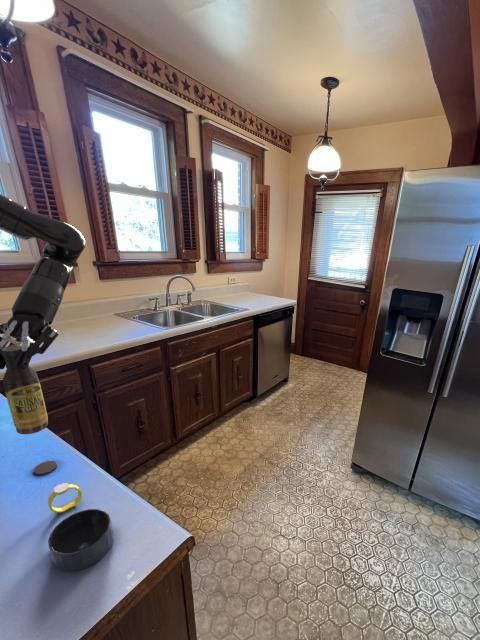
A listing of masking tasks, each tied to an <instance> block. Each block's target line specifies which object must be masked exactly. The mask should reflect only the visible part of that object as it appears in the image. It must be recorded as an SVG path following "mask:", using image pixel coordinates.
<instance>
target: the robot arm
mask: <svg viewBox="0 0 480 640" xmlns="http://www.w3.org/2000/svg"><path fill="white" fill-rule="evenodd" d="M0 230H1V231H3V232H5V233H7V234H9V235H11V236H13V237H15V238H17V239H20V240H22V241H25V242H29V241H31V240H33V239H36V240H39V241H42V242H45V245H44V248H43V250H42V252H41V255H40V257H39V259H38V260H37V261H36V263H35V264H34V267H33V269H32V270H31V272H30V274H29V276H28V278H27V279H26V280H25V282H24V283H23V285H22V287H21V289H20V291H19V293H18V295H17V296H16V298H15V301H14V303H13V305H12V307H11V313H12V317H10V318H9V319H8V320H7V322H3V323H0V370H4V369H5V368H6V364H5V360H4V357H3V356H2V353H1V349H2V348H4V347H7V345H8V346H15V345H20V346H22V349H21V350H22V352H19V354H18V356H17V358H16V361H15V363H14V365H13V368H14V369H16V370H18V371H24V370H25V369H26V368H27V367H28V364H29V365H30V362H31V360H32V358H33V357H34V356H36V355H37V354H39V355H43V354H45V352H46V351H47V350H48V349H49V347H50V346H51V345H52V344H53V343H54V341H55V340H56V339H57V338H58V337H59V334H60V333H59V331H57V330H56V329H55V328H53V327H52V326H50V325H52V324H53V322H54V320H55V317H56V315H57V313H58V310H59V308H60V306H61V303H62V302H63V298H64V295H65V291H66V289H67V286H68V284H69V282H70V279H71V274H72V270H73V268H74V267H75V265H76V263H77V261H78V259H79V258H80V256H81V254H82V253H83V252H84V250H85V248H86V240H85V238H84V235H82V233H81V232H80V231H79V230H77V228H75V227H74V226H72V225H70V224H68V223H66V222H64V221H62V220H58V219H55V218H52V217H50V216H47V215H44V214H40V213H37V212H34V211H32V210H30V209H29V208H27V207H26V206H23V205H21V204H20V203H18V202H16V201H14V200H12V199H11V198H9V197H7V196H5V195H3V194H1V193H0Z"/></svg>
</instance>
